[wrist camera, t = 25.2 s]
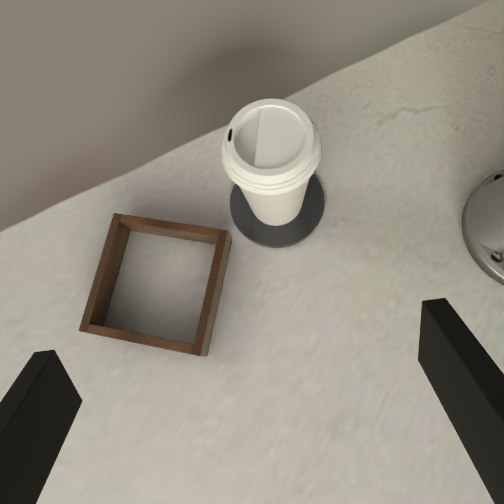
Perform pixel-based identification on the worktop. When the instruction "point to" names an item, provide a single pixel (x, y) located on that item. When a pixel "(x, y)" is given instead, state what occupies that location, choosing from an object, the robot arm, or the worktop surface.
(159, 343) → the square wooden frame
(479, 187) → the robot arm
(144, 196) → the worktop surface
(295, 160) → the coffee cup
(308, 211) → the slate coaster
